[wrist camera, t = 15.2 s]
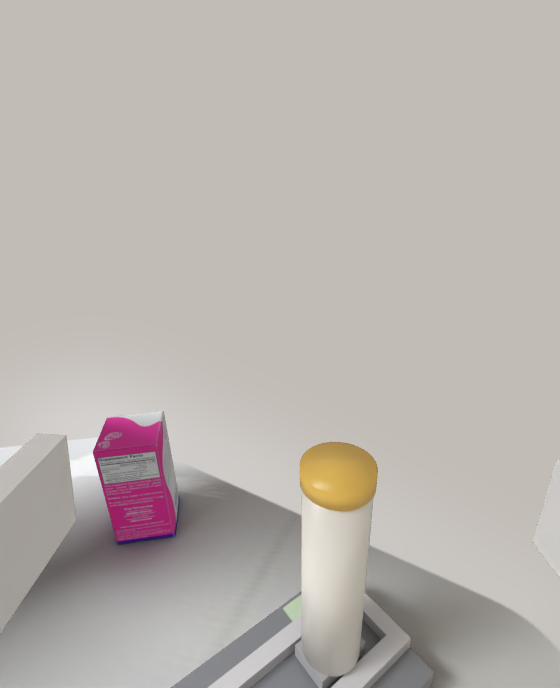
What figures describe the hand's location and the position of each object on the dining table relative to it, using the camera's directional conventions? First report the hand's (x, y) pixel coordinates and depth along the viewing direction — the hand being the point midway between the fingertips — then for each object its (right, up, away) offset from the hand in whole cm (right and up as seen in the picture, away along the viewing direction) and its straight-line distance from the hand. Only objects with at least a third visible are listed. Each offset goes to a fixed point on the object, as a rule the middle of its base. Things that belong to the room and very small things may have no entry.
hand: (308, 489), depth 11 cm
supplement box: (-14, -15, +32) cm, 38 cm away
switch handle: (+3, -18, +18) cm, 25 cm away
